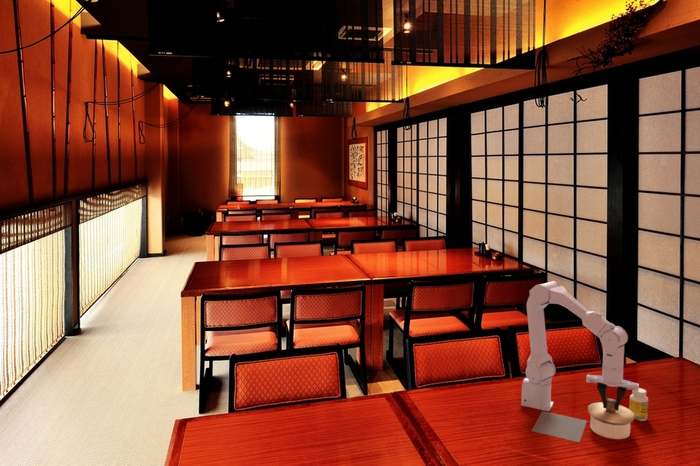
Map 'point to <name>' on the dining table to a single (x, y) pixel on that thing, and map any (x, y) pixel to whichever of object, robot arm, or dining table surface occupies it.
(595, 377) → the robot arm
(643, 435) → the dining table surface
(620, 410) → the lid
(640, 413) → the supplement bottle
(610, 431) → the bowl
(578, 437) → the mat
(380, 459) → the dining table surface
